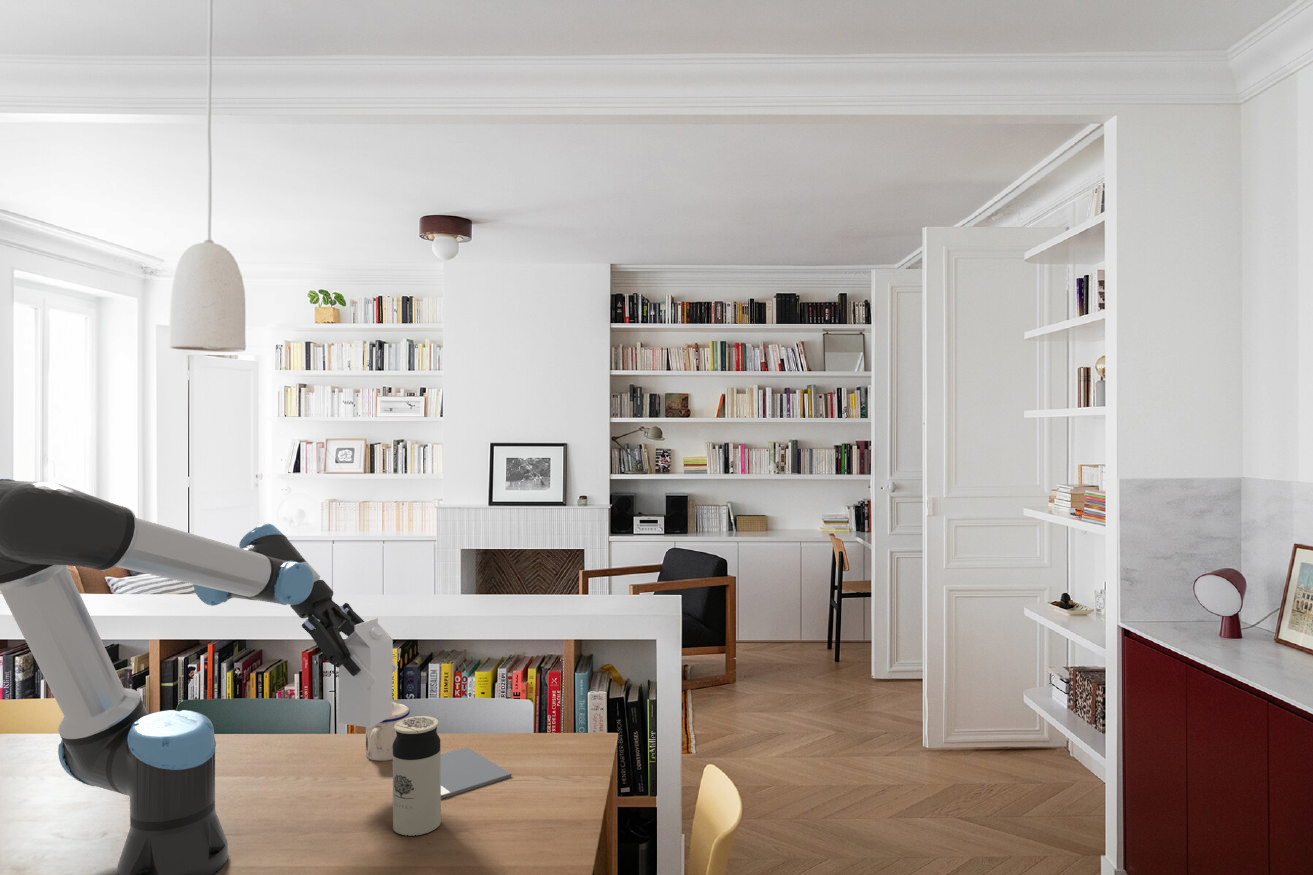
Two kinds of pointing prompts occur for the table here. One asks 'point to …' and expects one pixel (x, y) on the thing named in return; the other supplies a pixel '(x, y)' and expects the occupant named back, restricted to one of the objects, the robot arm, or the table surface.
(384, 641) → the milk carton
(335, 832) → the table surface
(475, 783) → the mat
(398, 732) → the travel mug
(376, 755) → the teacup with lid
